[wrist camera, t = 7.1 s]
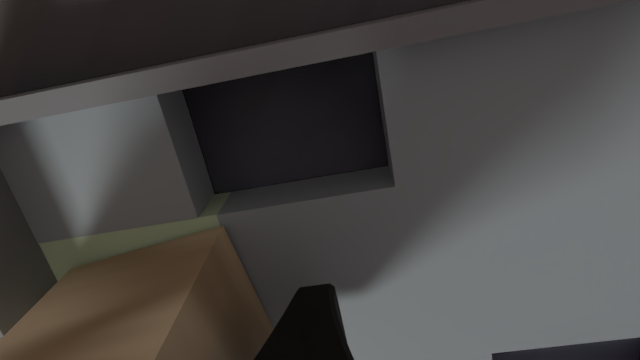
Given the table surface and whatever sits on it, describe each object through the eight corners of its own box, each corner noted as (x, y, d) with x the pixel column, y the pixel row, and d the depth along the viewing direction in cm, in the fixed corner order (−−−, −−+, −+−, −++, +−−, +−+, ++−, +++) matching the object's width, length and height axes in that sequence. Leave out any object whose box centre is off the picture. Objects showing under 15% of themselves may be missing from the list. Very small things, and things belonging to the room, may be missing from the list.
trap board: (913, -93, 9) (1257, -157, 5) (787, 374, 13) (932, 491, 10) (-18, 101, 11) (-165, 135, 8) (146, 436, 16) (95, 545, 13)
